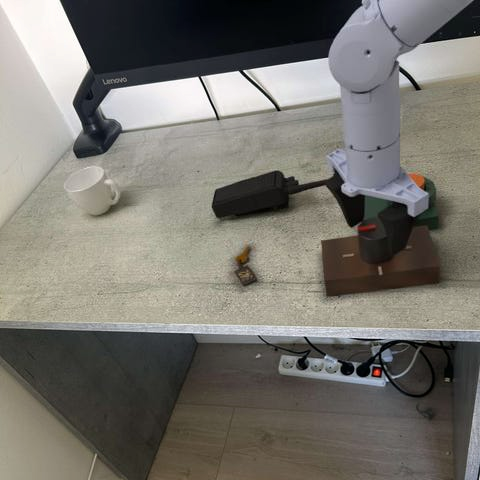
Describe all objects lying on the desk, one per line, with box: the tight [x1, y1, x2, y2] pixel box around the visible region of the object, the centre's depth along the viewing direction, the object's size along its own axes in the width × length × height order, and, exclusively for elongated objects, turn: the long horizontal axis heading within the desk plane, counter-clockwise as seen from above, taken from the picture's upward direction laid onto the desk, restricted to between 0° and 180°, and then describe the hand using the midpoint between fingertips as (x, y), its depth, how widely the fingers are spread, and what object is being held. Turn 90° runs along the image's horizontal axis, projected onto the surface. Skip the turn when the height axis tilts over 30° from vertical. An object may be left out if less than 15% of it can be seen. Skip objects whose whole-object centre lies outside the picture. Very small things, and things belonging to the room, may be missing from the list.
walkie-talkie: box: [211, 170, 328, 219], centre depth 78 cm, size 6×6×20 cm
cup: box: [63, 166, 122, 217], centre depth 90 cm, size 8×10×7 cm
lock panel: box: [320, 225, 441, 297], centre depth 64 cm, size 14×9×3 cm, turn 87°
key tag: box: [234, 245, 258, 287], centre depth 72 cm, size 8×3×1 cm, turn 7°
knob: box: [357, 217, 393, 263], centre depth 62 cm, size 4×4×4 cm
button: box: [407, 173, 425, 191], centre depth 68 cm, size 4×4×2 cm
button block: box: [362, 176, 440, 230], centre depth 71 cm, size 10×9×4 cm
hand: (375, 236), depth 62 cm, fingers open, 7 cm apart
